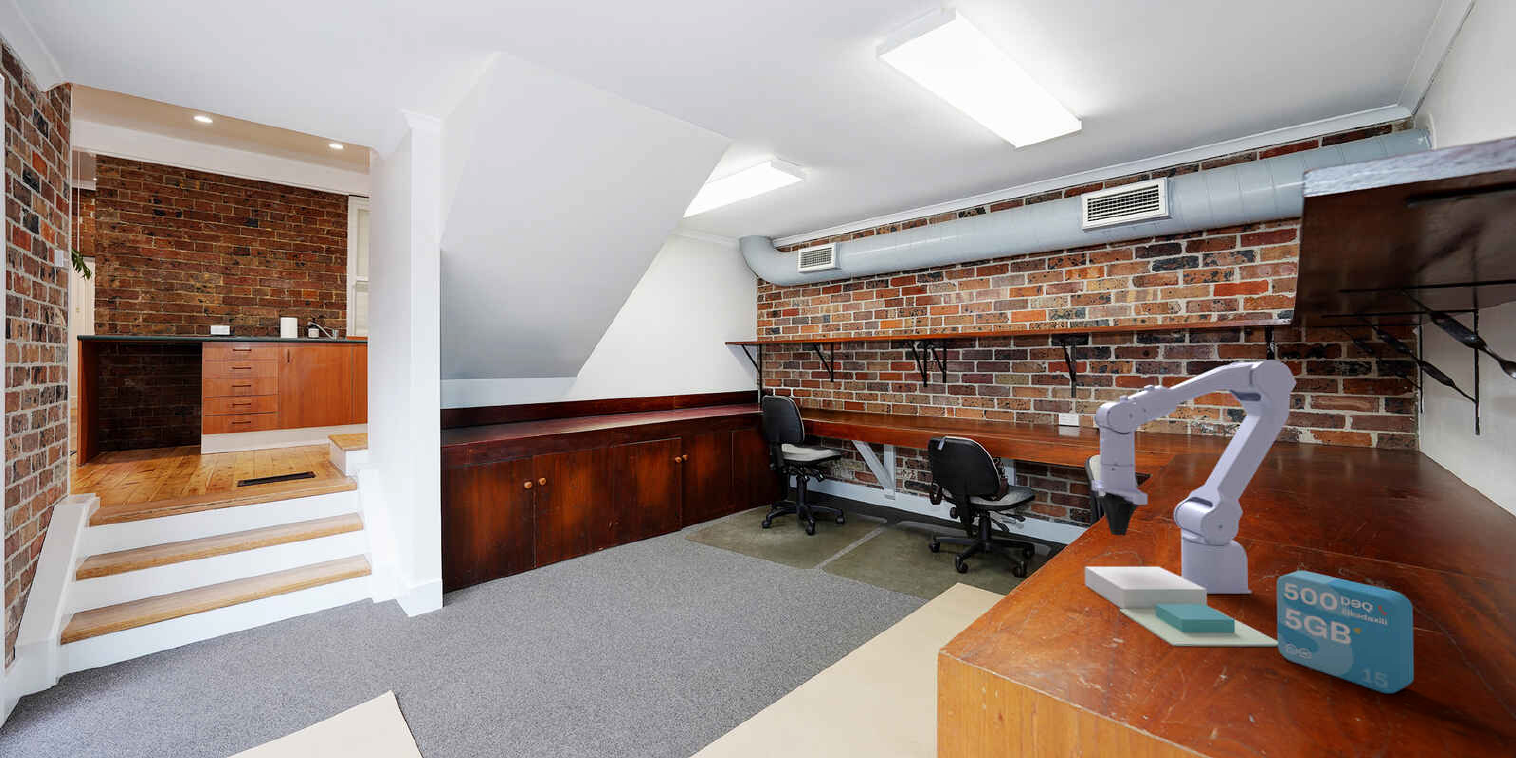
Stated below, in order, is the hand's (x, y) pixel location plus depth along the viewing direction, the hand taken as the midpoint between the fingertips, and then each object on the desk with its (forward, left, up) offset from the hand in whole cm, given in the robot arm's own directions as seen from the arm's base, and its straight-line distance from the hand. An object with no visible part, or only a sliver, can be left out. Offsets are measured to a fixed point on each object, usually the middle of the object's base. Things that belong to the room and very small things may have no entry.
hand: (1118, 534), depth 111 cm
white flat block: (0, +7, -9) cm, 12 cm away
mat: (0, +20, -9) cm, 22 cm away
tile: (0, +20, -7) cm, 21 cm away
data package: (-9, +34, -10) cm, 36 cm away
